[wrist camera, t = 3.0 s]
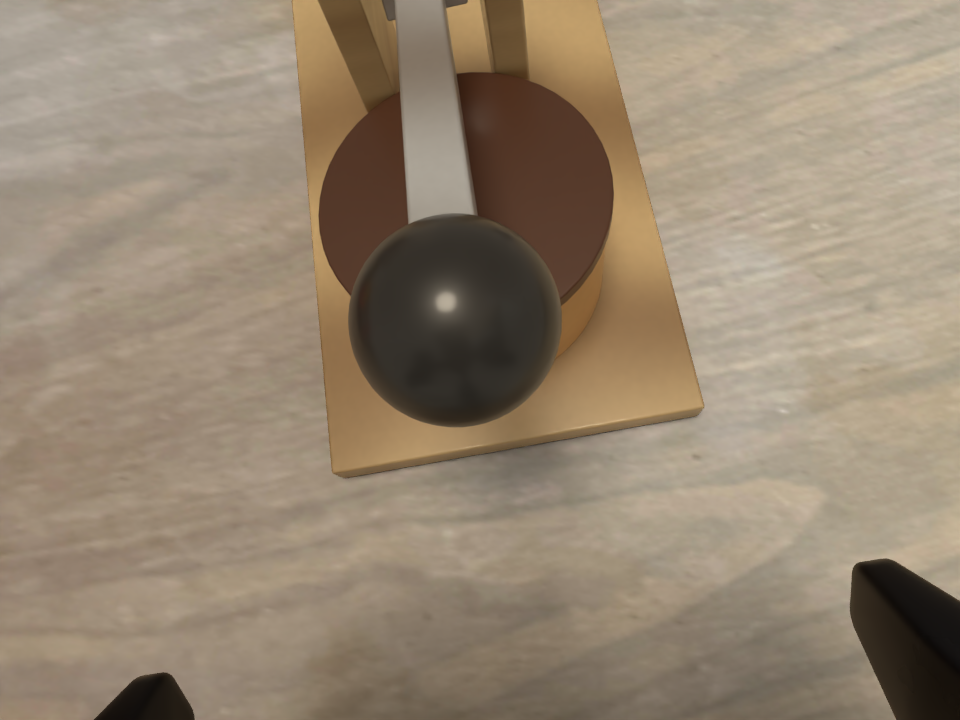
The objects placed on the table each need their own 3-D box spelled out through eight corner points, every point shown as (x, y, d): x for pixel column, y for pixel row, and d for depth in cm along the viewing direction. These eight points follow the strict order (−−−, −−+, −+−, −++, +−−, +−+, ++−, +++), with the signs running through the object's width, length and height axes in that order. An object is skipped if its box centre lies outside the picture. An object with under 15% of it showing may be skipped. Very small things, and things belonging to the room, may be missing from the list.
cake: (521, 434, 22) (507, 395, 17) (322, 311, 24) (260, 246, 19) (651, 230, 23) (671, 142, 19) (452, 132, 25) (424, 31, 21)
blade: (586, 444, 11) (574, 316, 8) (385, 480, 11) (310, 366, 8) (478, -34, 20) (457, -164, 18) (372, -10, 20) (336, -134, 18)
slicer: (698, 415, 22) (804, 281, 12) (342, 479, 23) (163, 403, 13) (560, -116, 30) (553, -474, 20) (295, -53, 31) (157, -364, 21)
